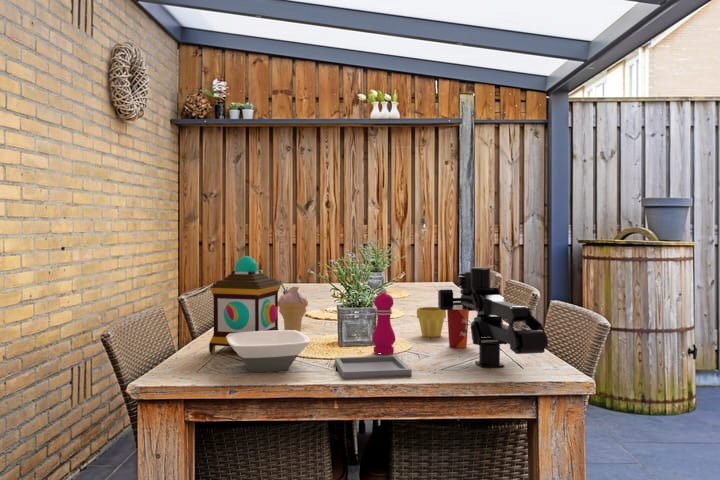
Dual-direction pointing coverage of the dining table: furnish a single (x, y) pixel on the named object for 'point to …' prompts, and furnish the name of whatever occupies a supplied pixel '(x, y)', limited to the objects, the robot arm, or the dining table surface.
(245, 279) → the decorative lantern
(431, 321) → the plant pot
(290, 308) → the ice cream cone
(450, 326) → the paper cup
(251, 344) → the bowl
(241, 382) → the dining table surface
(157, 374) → the dining table surface
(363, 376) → the slate tray
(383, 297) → the pepper mill
